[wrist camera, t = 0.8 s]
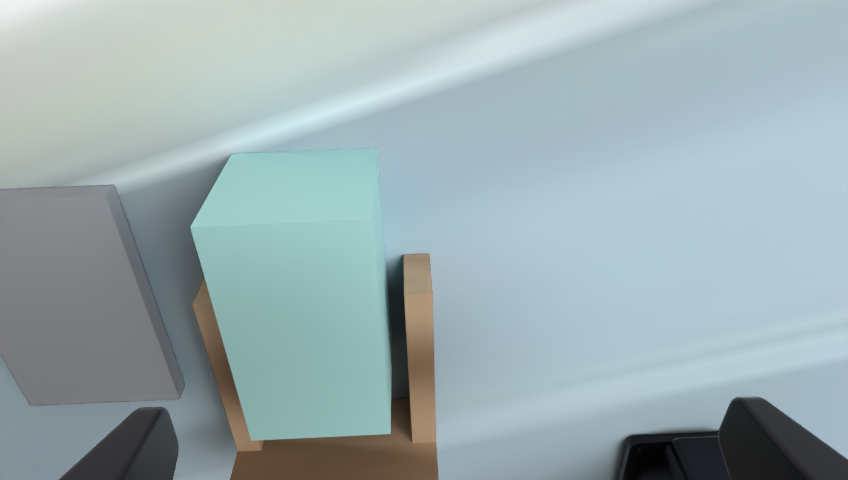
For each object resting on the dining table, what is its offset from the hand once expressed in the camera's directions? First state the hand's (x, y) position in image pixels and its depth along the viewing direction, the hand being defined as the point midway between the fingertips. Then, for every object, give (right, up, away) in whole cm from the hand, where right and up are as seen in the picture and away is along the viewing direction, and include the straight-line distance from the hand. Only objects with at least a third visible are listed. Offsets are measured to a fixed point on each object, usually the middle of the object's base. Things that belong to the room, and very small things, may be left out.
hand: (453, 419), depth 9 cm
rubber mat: (-14, +1, +14) cm, 20 cm away
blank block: (-4, +2, +13) cm, 14 cm away
